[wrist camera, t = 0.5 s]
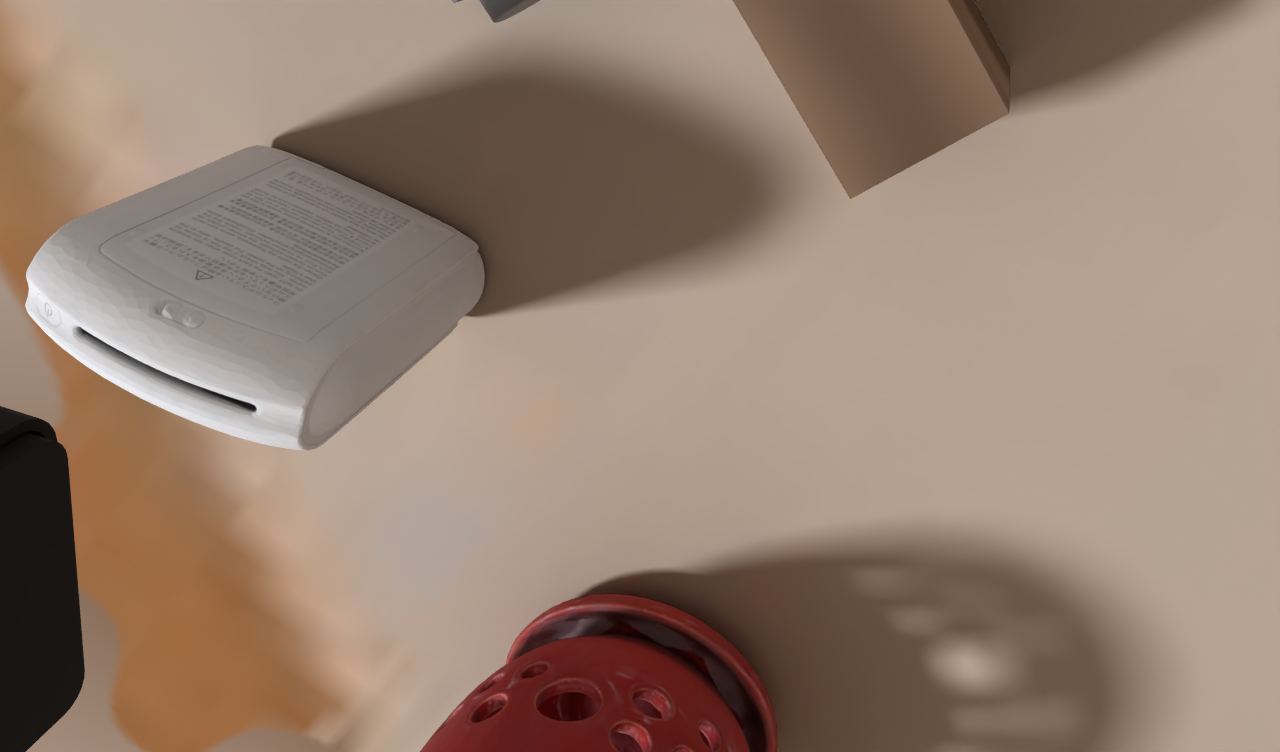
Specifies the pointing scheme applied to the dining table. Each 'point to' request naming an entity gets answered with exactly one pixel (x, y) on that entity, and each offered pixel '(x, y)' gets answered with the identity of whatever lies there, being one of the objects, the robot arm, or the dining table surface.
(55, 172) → the dining table surface
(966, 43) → the brown cardboard carton
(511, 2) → the chassis
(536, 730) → the plant pot
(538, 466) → the dining table surface
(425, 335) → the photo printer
